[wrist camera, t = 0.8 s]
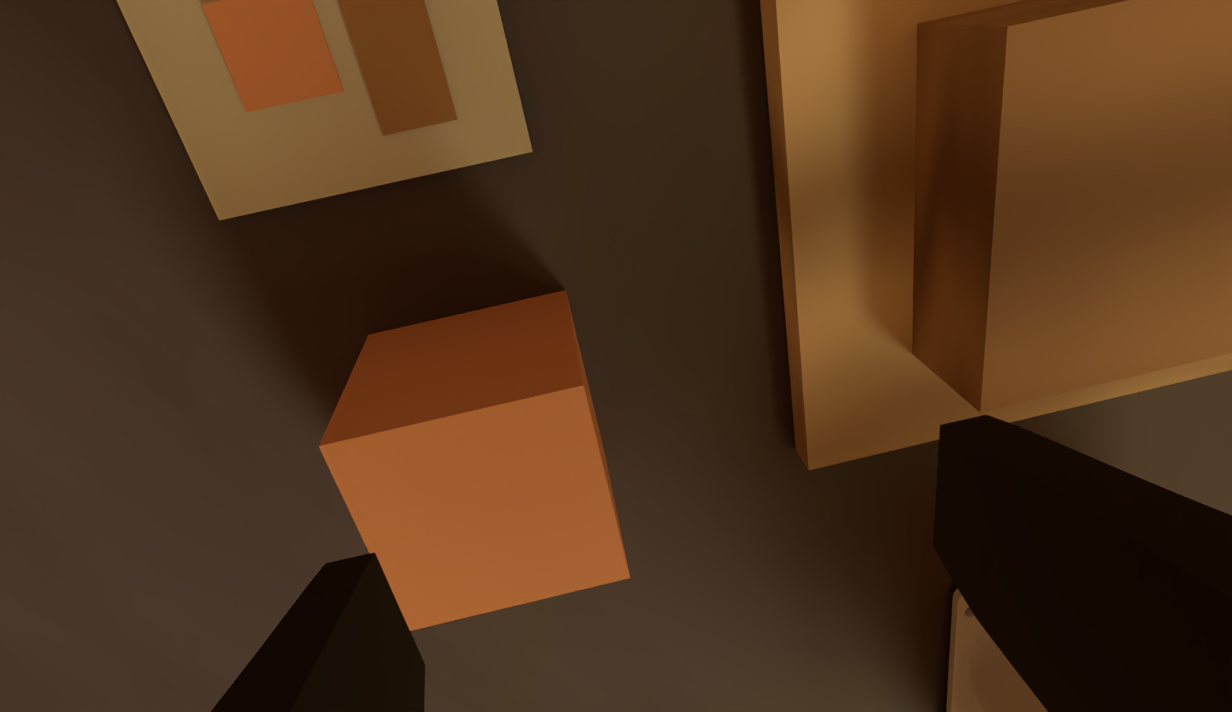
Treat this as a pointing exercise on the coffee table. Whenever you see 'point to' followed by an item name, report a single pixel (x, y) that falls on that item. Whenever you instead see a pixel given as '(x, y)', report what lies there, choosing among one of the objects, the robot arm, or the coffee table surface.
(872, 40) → the plate
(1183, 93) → the walnut slab
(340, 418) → the terracotta cube
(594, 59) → the coffee table surface
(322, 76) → the card
